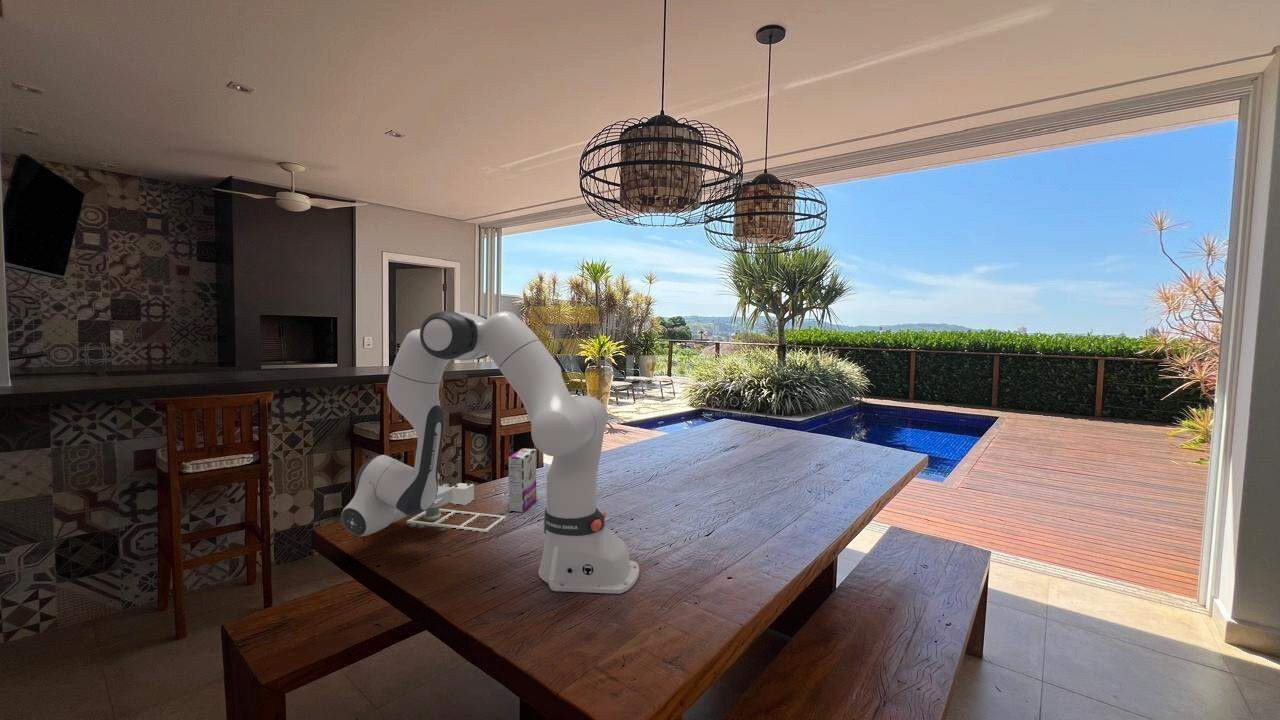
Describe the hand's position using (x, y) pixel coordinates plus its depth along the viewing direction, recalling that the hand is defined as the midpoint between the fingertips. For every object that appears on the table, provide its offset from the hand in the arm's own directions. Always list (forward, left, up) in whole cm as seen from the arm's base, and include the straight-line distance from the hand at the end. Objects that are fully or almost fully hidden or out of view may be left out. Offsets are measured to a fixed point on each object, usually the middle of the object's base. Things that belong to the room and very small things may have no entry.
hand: (431, 484), depth 151 cm
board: (-8, +1, -9) cm, 12 cm away
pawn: (0, 0, -9) cm, 10 cm away
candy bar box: (-20, -16, -10) cm, 27 cm away
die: (-1, -14, -9) cm, 17 cm away
